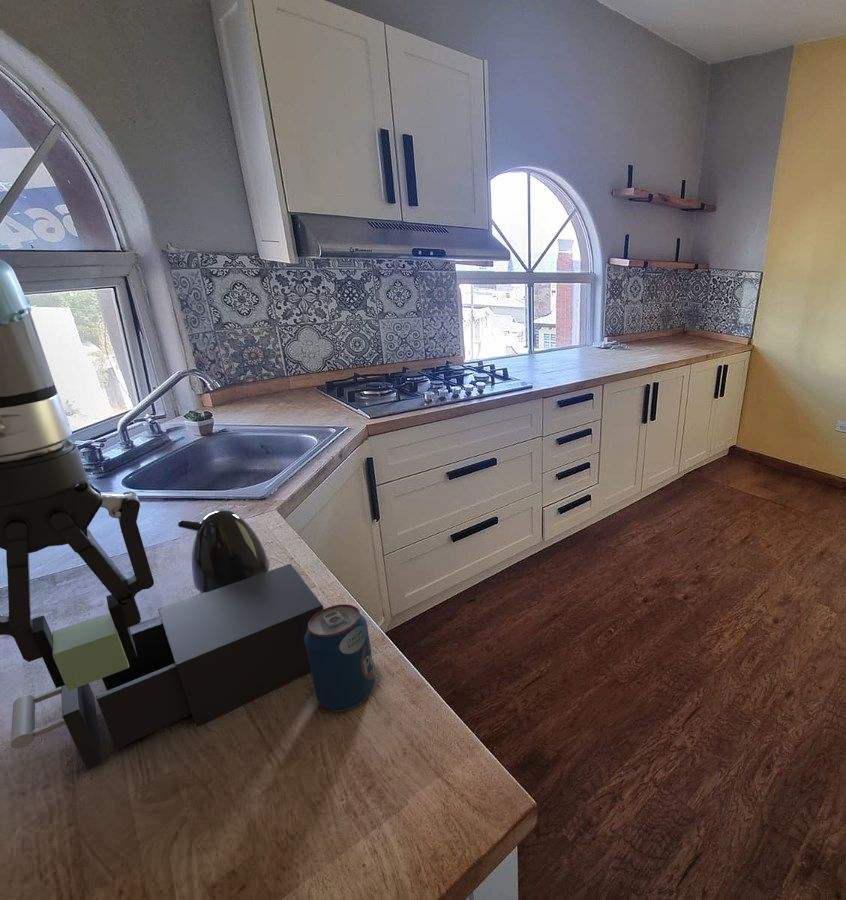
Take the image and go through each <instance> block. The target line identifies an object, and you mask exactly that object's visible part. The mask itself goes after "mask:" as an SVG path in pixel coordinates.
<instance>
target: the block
mask: <svg viewBox="0 0 846 900" xmlns="http://www.w3.org/2000/svg"><path fill="white" fill-rule="evenodd" d="M51 633H52V635H53V651H52V656H53V658H54V660H55V662H56V665H57V667H58V669H59V672H60V674H61V676H62V679H63V681H64V683H65V686H66V688H67V690H68V691H70V690H73V689H75V688H78V687H81V686H83V685H86V684H88V683H89V684H91V683H93V682H96V681H98V680H102V678H104V677H106V676H109V675H112V674H114V673H117V672H119V671H122V670H125V669H127V668H129V662H128V659H127V657H126V654H125V651H124V649H123V646H122V643H121V640H120V638H119V635H118V632H117V629H116V628H115V625H114V623H113V620H112V617H111V615H110V612H108V613H105V614H101V615H98V616H94V617H92V618H89V619H86V620H83V621H80V622H76V623H73V624H71V625H67V626H64V627H61V628H58V629H55V630H51Z"/></svg>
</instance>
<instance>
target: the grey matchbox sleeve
mask: <svg viewBox="0 0 846 900" xmlns="http://www.w3.org/2000/svg"><path fill="white" fill-rule="evenodd" d="M323 609H325V608H324V605H323V603H322V602H321V600H320V599H319V598H318V596H317V595H316V594H315V592H314V591H313V590H312V589H311V588H310V586H309V585H308V584H307V583H306V581H305V580H304V579H303V577H302V576H301V575H300V573H299V572H298V571H297V570H296V568H295V567H294V566H293V564H292V563H288V564H286V565H283V566H279V567H276V568H274V569H271V570H268V572H265V573H262V574H259V575H256V576H253V577H250V578H247V579H244V580H241V581H239V582H236V583H233V584H230V585H227V586H224V587H221V588H218V589H215V590H212V591H209V592H206V593H204V594H202V593H201V594H198V595H195V596H192V597H189V598H187V599H184V600H181V601H177V602H175V603H171V604H169V605H166V606H163V607H160V608H158V609H157V611H158V614H159V617H160V621H162V624H163V627H164V630H165V633H166V636H167V640H168V643H169V646H170V649H171V652H172V655H173V658H174V662H175V665H176V668H177V671H178V674H179V677H180V680H181V683H182V686H183V689H184V692H185V695H186V698H187V701H188V704H189V707H190V710H191V713H192V714H191V716H192V719H193V722H194V725H195V728H199V727H201V726H203V725H205V724H207V723H209V722H211V721H214V720H216V719H218V718H220V717H222V716H224V715H226V714H228V713H230V712H232V711H235V710H236V709H238V708H240V707H242V706H244V705H247V704H248V703H251V702H253V701H254V700H257V699H258V698H261V697H262V696H265V695H266V694H269V693H271V692H273V691H275V690H277V689H280V688H281V687H283V686H285V685H288V684H290V683H292V682H294V681H296V680H297V679H300V678H302V677H304V676H307V674H309V673H310V674H311V669H310V664H309V660H308V655H307V650H306V645H305V640H304V639H305V634H306V632H307V630H308V623H309V621H310V619H311V618H312V617H313V616H314V615H315V614H316V613H318V612H319V611H321V610H323Z"/></svg>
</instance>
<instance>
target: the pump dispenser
mask: <svg viewBox="0 0 846 900" xmlns="http://www.w3.org/2000/svg"><path fill="white" fill-rule="evenodd" d="M177 526H178V527H177V528H181V529H186V530H190V531H194V532H195V536H194V539H193V543H192V549H191V561H190V562H191V575H192V581H193V585H194V587H195V589H196V591H198V592H200V593H201V594H204V593H206V592H209V591H212V590H215V589H218V588H221V587H224V586H227V585H230V584H233V583H236V582H239V581H241V580H244V579H247V578H250V577H253V576H256V575H259V574H262V573H265V572H268V571H270V567H271V565H270V564H271V563H270V560H269V556H268V555H267V552H266V549H265V548H264V546H263V544H262V541H261V540H260V538H259V537H258V535H257V533H256V532H255V531H254V530H253V528H252V527H251V526H250V524H249V523H248V522H247V521H246V520H245V519H244V518H243V517H242V516H240V515H239V514H238V513H236V512H234V511H231V510H227V509H220V510H215V511H211V512H210V513H207V514H206V515H205V516H204V517H203V518H202V520H201V521H190V520H179V521H178V523H177Z"/></svg>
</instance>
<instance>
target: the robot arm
mask: <svg viewBox="0 0 846 900" xmlns="http://www.w3.org/2000/svg"><path fill="white" fill-rule="evenodd" d="M31 311H32V307H31V302H30V300H29V299H28V298H27V296H26V295H25V294H24V291H23V289H22V287H21V285H20V282H19V280H18V277H17V275H16V272H15V271H14V270H13V267H12V266H11V265H10V264H8V263H7V262H6V261H4V260H3V259H1V258H0V549H2V550H4V551H5V555H6V572H7V600H8V614H0V636H9V637H12V638H13V640H14V642H15V644H16V646H17V648H18V650H19V653H20V654H21V657H22V659H23V660H24V661H26V662H28V663H30V662H33V661H36V660H39V659H42V660H43V662H44V664H45V667H46V669H47V671H48V673H49V676H50V678H51V680H52V682H53V684H54V688H58V687H61V686H64V685H65V683H64V681H63V679H62V676H61V674H60V672H59V669H58V667H57V665H56V662H55V660H54V658H53V656H52V651H53V635H52V630H51V628H50V626H49V624H48V621H47V619H46V617H45V614H43V615H40V616H37V617H33V618H32V615H31V614H32V611H31V610H32V609H31V580H30V579H31V576H30V575H31V574H30V573H31V572H30V571H31V570H30V554H33V553H36V552H37V553H38V552H39V551H41V550H43V549H44V550H45V549H46V548H49V547H59V546H65V545H68V546H69V547H70V548H71V549H72V551H73V552H75V553H76V554H77V555H78V556H79V557H80V558H81V560H83V562H84V563H85V564H86V565H87V567H88V568H89V569H90V570H91V572H92V573H93V574H94V575H95V576H96V578H97V579H98V580H99V582H100V583H101V584H102V585H103V586H104V587H105V589H106V590H107V591H108V592H109V593H110V594H108V595H106V597H105V598H106V604H107V609H108V611H109V612H108V613H110V615H111V617H112V620H113V623H114V625H115V628H116V629H117V632H118V635H119V638H120V640H121V643H122V646H123V649H124V651H125V654H126V657H127V659H128V661H129V660H132V659H135V658H137V653H136V648H135V643H134V641H133V638H132V635H131V630H130V627H133V626H136V625H139V624H141V620H142V617H141V612H140V610H139V607H138V604H137V601H136V598H135V597H136V595H138V593H140V592H142V591H143V590H149V589H151V588H152V587H153V586H154V585H155V581H154V576H153V574H152V569H151V567H150V563H149V560H148V557H147V553H146V550H145V549H146V548H145V547H144V543H143V539H142V536H141V533H140V529H139V526H138V523H137V522H138V516H139V512H140V508H141V503H140V499H139V496H138V495H137V493H136V492H134V491H130V490H129V491H125V492H123V493H121V494H108V493H101V491H100V490H99V489H98V488H96V487H95V486H93V484H92V483H90V480H89V478H88V475H87V472H86V469H85V466H84V463H83V461H82V457H81V454H80V451H79V448H78V446H77V444H76V443H74V442H73V441H71V440H68V439H69V438H70V437H71V436H72V434H73V431H72V428H71V426H70V422H69V420H68V417H67V413H66V411H65V408H64V405H63V403H62V399H61V397H60V396H61V395H60V393H59V392H58V391H57V387H56V385H55V380H54V377H53V376H52V372H51V369H50V366H49V362H48V361H47V360H48V359H47V357H46V354H45V351H44V349H43V345H42V341H41V340H40V336H39V333H38V330H37V327H36V324H35V320H34V318H33V315H32V313H31ZM100 508H103V509H106V510H107V512H108V515H109V517H111V518H113V519H118V523H119V527H120V531H121V535H122V538H123V541H124V544H125V545H124V546H125V548H126V551H127V554H128V558H129V560H130V564H131V567H132V571H133V573H134V574H133V575H131V576H130V577H128V578H126V576H125V575H124V574H123V573H122V572H121V570H120V569H119V568H118V566H117V565H116V564H115V563H114V561H113V560H112V559H111V558H110V556H109V555H108V553H107V552H106V551H105V550H104V548H103V547H102V546H101V544H99V542H98V541H97V539H96V538H94V536H93V534H92V532H91V531H90V529H89V526H90V524H91V523H92V521H93V519H94V518H95V517H96V514H97V513H98V512H99V510H100Z"/></svg>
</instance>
